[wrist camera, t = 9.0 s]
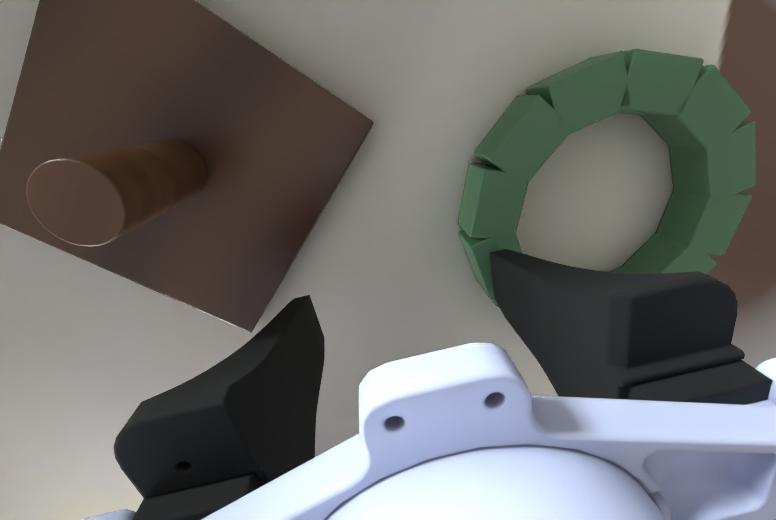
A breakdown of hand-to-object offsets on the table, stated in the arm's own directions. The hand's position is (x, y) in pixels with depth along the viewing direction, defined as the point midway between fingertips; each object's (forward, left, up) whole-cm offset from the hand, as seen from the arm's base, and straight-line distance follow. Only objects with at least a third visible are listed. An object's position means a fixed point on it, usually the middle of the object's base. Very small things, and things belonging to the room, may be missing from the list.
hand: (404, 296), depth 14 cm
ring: (-5, -7, -2) cm, 9 cm away
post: (+9, 0, -2) cm, 10 cm away
